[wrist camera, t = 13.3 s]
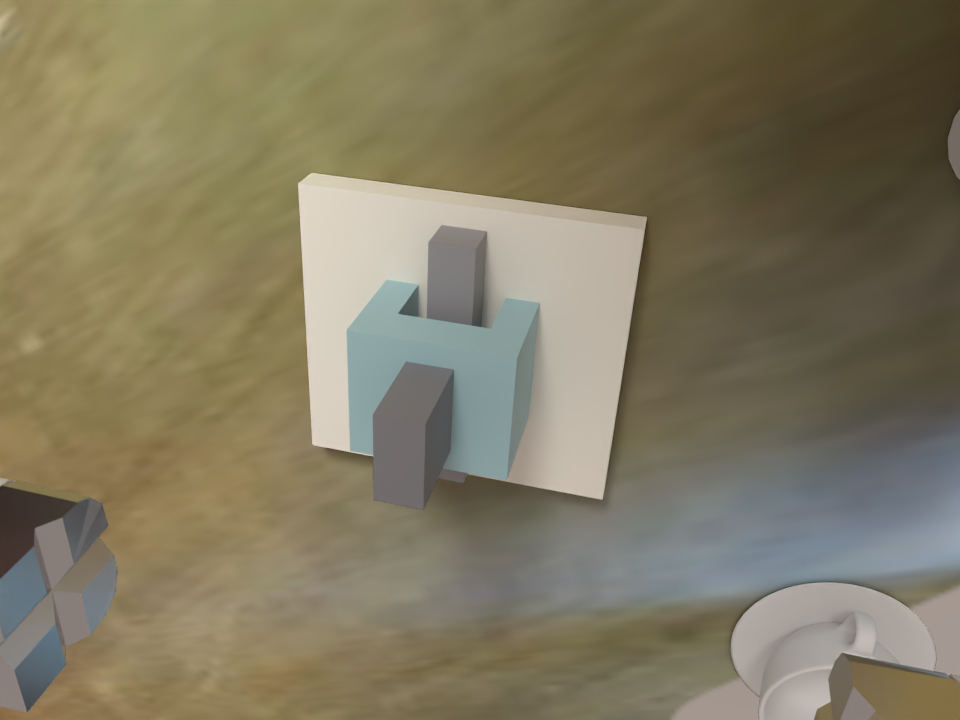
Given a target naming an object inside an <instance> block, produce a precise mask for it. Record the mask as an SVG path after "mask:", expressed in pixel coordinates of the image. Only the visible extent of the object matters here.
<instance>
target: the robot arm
mask: <svg viewBox="0 0 960 720" xmlns="http://www.w3.org/2000/svg"><path fill="white" fill-rule="evenodd" d="M107 526H108V523H107V519H106V516H105V512H104V508H103V504H102V503H101V502H99V501H97V500H94V499H92V498H90V497H86V496H81V495H77V494H73V493H69V492H64V491H60V490H56V489H52V488H47V487H43V486H39V485H35V484H30V483H26V482H22V481H18V480H17V481H14V480H10V479H6V478H1V477H0V706H1V707H5V708H10V709H14V710H19V711H23V712H28V711H29V710H30V709H31V707H32V706H33V705H34V704H35V702H36V701H37V700H38V699H39V698H40V696H41V695H42V694H43V693H44V691H45V690H46V689H47V688H48V687H49V685H50V684H51V683H52V682H53V680H54V679H55V678H56V677H57V676H58V674H59V673H60V672H61V671H62V669H63V668H64V667H65V666H66V647H67V646H69V645H71V644H73V643H75V642H77V641H79V640H81V639H83V638H85V637H87V636H89V635H91V634H92V632H93V631H94V630H95V628H96V627H97V626H98V625H99V623H100V622H101V621H102V619H103V618H104V617H105V616H106V614H107V611H108V609H109V606H110V604H111V601H112V599H113V596H114V594H115V592H116V584H117V572H118V571H117V566H116V561H115V556H114V554H113V553H112V552H111V550H110V549H109V548H108V547H107V546H106V545H105V543H104V542H103V541H102V540H101V539H100V538H99V537H100V536H101V535H102V533H103V532H104V531H105V529H106V528H107ZM828 681H829V690H830V698H831V702H829V703H827V704H826V705H824V706H822V707H820V708H818V709H817V711H816V714H815V717H814V720H960V676H957V675H952V674H951V675H947V674H945V673H940V672H936V671H931V670H926V669H921V668H916V667H911V666H906V665H901V664H896V663H891V662H886V661H881V660H875V659H870V658H865V657H860V656H855V655H850V654H845V653H841V654H840V656H839V657H838V658H837V659H836V661H835V662H834V665H833V668H832V670H831V673H830V675H829V678H828Z"/></svg>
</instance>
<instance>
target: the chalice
mask: <svg viewBox="0 0 960 720" xmlns="http://www.w3.org/2000/svg"><path fill="white" fill-rule="evenodd" d="M948 159H949V161H950V163H951V165H952V168H953V170H954V172H955V175H956V177H957V178H958V179H959V180H960V110H959V111H958V113H957V114H956V115H955V117H954V120H953V123H952V126H951V129H950V133H949V136H948Z"/></svg>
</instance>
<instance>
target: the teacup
mask: <svg viewBox="0 0 960 720" xmlns="http://www.w3.org/2000/svg"><path fill="white" fill-rule="evenodd" d="M730 650H731V657H732V661H733V665H734V667H735V669H736V671H737V673H738V675H739V677H740V678H741V680H742V681H743V682H744V683H745V684H746V686H747V687H748V688H749V689H750V690H751V691H752V692H754V693H755V694H756V695H757V696H758V697H760V701H759V709H758V714H759V715H758V716H759V720H814V717H815V714H816V711H817V709H818V708H820V707H822V706H824V705H826V704H827V703H829V702H831V698H830V690H829V681H828V678H829V675H830V673H831V670H832V668H833V665H834V662H835V661H836V659H837V658H838V657H839V656H840V654H841V653H845V654H850V655H855V656H860V657H865V658H870V659H875V660H881V661H886V662H891V663H896V664H901V665H906V666H911V667H916V668H921V669H926V670H931V671H935V666H936V647H935V643H934V641H933V638H932V636H931V634H930V632H929V630H928V628H927V627H926V625H925V624H924V623H923V621H922V620H921V619H920V618H919V617H918V616H917V615H916V614H915V613H914V612H913V611H912V610H910V609H909V608H908V607H907V606H905V605H904V604H902V603H901V602H899V601H897V600H896V599H894V598H892V597H890V596H888V595H886V594H883V593H881V592H878V591H875V590H873V589H869V588H866V587H862V586H857V585H852V584H845V583H833V582H820V583H808V584H801V585H796V586H792V587H788V588H785V589H782V590H779V591H777V592H774V593H772V594H770V595H768V596H766V597H764V598H762V599H761V600H759V601H758V602H756V603H755V604H754V605H752V606H751V607H750V608H749V609H748V610H747V611H746V612H745V613H744V614H743V615H742V617H741V618H740V619H739V621H738V623H737V624H736V626H735V628H734V631H733V634H732V638H731V648H730Z"/></svg>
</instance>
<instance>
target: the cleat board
mask: <svg viewBox="0 0 960 720" xmlns="http://www.w3.org/2000/svg"><path fill="white" fill-rule="evenodd" d="M298 190H299V208H300V226H301V244H302V263H303V281H304V299H305V318H306V336H307V354H308V372H309V391H310V409H311V427H312V445H315V446H321V447H326V448H331V449H336V450H342V451H347V452H352V453H358V454H363V455H368V456H373V455H369V454H364V453H359V452H353V451H350V432H349V397H348V361H347V329H348V328H349V326H350V325H351V324H352V323H353V321H354V320H355V319H356V318H357V316H358V315H359V314H360V312H361V311H362V310H363V309H364V307H365V306H366V305H367V304H368V302H369V301H370V300H371V299H372V297H373V296H374V295H375V294H376V292H377V291H378V290H379V289H380V287H381V286H382V285H383V283H384V282H385V281H386V280H393V281H399V282H406V283H412V284H419V288H418V317H421V318H427V319H433V320H440V321H446V322H452V323H458V324H465V325H471V326H477V327H484V328H490V329H491V327H492V325H493V323H494V321H495V319H496V317H497V315H498V313H499V311H500V309H501V307H502V305H503V303H504V301H505V299H506V298H511V299H518V300H524V301H531V302H537V303H540V304H539V315H538V325H537V336H536V346H535V357H534V367H533V378H532V388H531V398H530V409H529V418H528V421H527V423H526V426H525V429H524V432H523V435H522V438H521V441H520V444H519V447H518V449H517V452H516V455H515V458H514V461H513V464H512V467H511V470H510V473H509V476H508V478H507V480H502V479H496V478H491V477H486V476H480V475H475V474H470V473H465V472H459V471H454V470H449V469H443V468H442V470H441V473H440V475H439V477H438V479H443V480H448V481H453V482H458V483H464V481H465V479H466V476H467V474H469V475H474V476H479V477H485V478H490V479H495V480H500V481H506V482H511V483H516V484H522V485H527V486H532V487H537V488H543V489H548V490H553V491H559V492H564V493H569V494H575V495H580V496H585V497H590V498H596V499H601V500H603V495H604V489H605V484H606V478H607V472H608V465H609V459H610V452H611V446H612V439H613V433H614V427H615V420H616V414H617V407H618V401H619V394H620V388H621V382H622V375H623V369H624V362H625V356H626V350H627V343H628V337H629V330H630V324H631V317H632V311H633V305H634V298H635V292H636V285H637V279H638V272H639V266H640V260H641V253H642V247H643V240H644V234H645V228H646V221H647V217H643V216H636V215H628V214H620V213H613V212H605V211H598V210H590V209H582V208H575V207H567V206H560V205H552V204H544V203H537V202H529V201H522V200H514V199H506V198H499V197H491V196H484V195H476V194H468V193H461V192H453V191H446V190H438V189H430V188H423V187H415V186H408V185H400V184H393V183H385V182H377V181H370V180H362V179H355V178H347V177H339V176H332V175H324V174H317V173H311V174H310V175H308V176H307V177H306V178H304V179H303V180H302V181H301V182H299V183H298Z"/></svg>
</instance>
